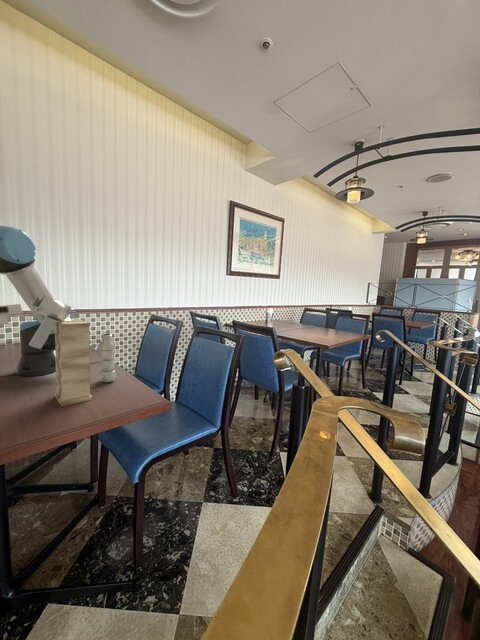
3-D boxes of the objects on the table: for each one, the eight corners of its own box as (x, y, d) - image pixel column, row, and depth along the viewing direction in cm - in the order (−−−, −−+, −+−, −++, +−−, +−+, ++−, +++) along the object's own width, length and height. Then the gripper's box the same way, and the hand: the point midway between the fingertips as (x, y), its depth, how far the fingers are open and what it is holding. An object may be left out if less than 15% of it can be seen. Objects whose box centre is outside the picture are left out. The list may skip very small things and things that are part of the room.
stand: (54, 395, 93) (52, 320, 91) (83, 390, 100) (82, 319, 97) (61, 406, 86) (59, 324, 83) (92, 399, 92) (91, 323, 89)
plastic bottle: (109, 385, 106) (108, 336, 104) (94, 383, 107) (93, 334, 105) (119, 380, 112) (119, 333, 110) (105, 378, 114) (105, 332, 112)
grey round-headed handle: (43, 348, 88) (10, 337, 81) (68, 305, 91) (39, 292, 85) (46, 351, 83) (12, 341, 77) (73, 307, 87) (42, 293, 81)
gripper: (-95, 351, 71) (4, 334, 89) (-84, 331, 57) (32, 316, 75) (-104, 324, 71) (-2, 312, 89) (-94, 298, 57) (24, 290, 75)
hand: (13, 314), depth 82 cm, fingers open, 13 cm apart
